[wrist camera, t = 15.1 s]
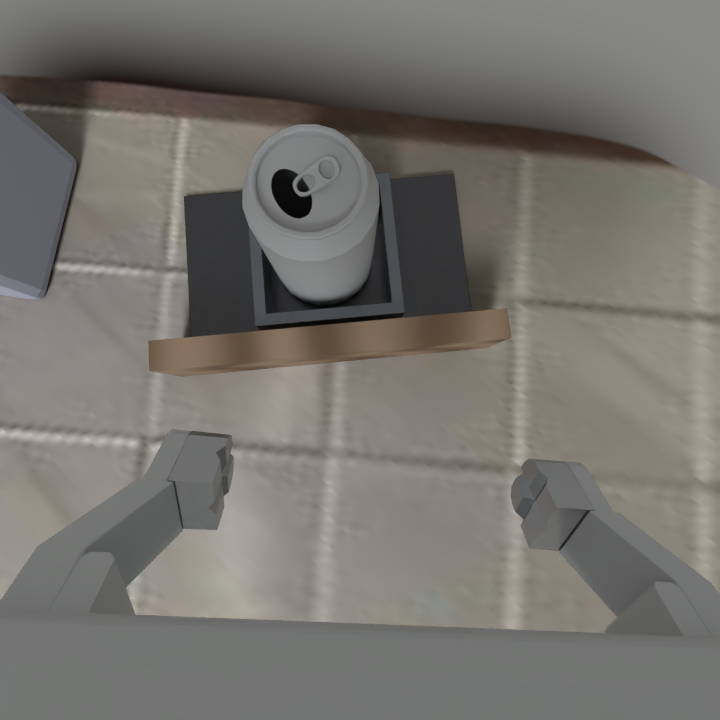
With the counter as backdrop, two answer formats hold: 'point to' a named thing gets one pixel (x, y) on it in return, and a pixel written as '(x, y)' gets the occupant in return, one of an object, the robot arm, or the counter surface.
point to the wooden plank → (329, 343)
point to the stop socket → (372, 302)
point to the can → (313, 211)
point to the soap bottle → (30, 202)
